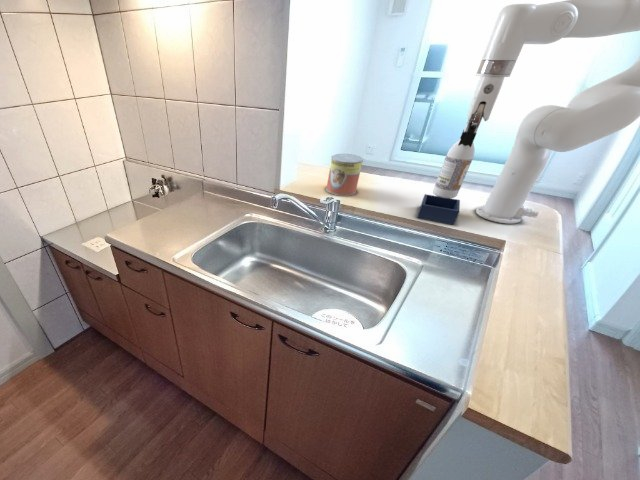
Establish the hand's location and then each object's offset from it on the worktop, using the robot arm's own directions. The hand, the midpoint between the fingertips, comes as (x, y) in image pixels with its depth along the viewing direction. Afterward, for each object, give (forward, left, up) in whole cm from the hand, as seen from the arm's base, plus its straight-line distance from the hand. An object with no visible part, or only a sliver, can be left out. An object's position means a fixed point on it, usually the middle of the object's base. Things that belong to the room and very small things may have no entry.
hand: (464, 145), depth 94 cm
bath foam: (0, 0, -15) cm, 15 cm away
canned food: (+34, -7, -22) cm, 41 cm away
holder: (0, 0, -21) cm, 21 cm away
